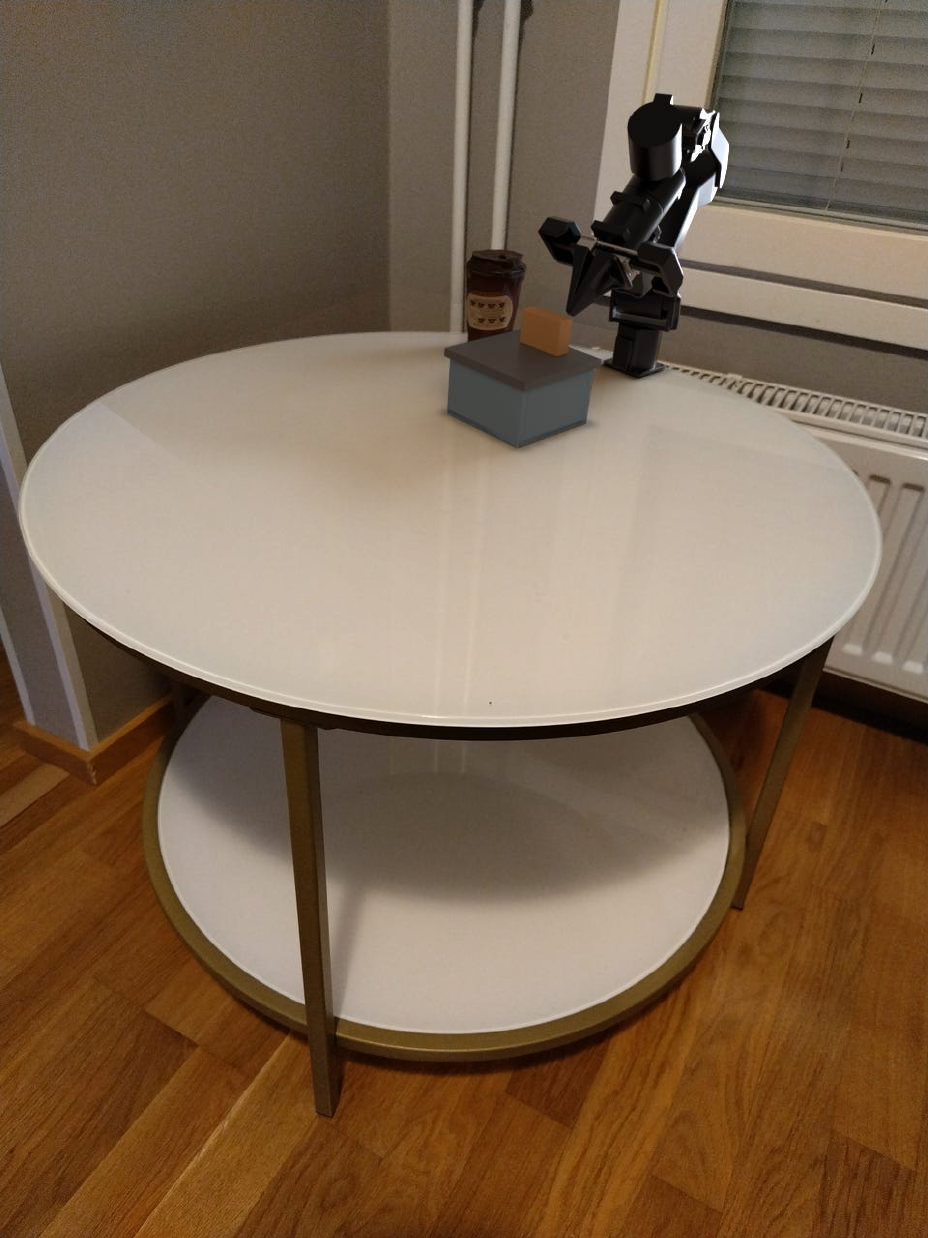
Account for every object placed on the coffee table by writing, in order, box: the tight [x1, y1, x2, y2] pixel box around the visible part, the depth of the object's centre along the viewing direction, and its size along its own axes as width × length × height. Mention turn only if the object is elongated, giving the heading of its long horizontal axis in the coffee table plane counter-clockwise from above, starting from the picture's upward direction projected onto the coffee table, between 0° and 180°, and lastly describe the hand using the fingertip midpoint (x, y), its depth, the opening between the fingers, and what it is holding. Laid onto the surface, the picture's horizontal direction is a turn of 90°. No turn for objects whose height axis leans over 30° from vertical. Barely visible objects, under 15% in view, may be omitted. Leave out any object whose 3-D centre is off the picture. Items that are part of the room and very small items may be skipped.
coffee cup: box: [465, 248, 528, 342], centre depth 121 cm, size 9×8×13 cm
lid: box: [443, 305, 603, 391], centre depth 99 cm, size 13×13×5 cm
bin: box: [446, 359, 595, 449], centre depth 102 cm, size 12×12×7 cm
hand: (569, 314), depth 102 cm, fingers closed
